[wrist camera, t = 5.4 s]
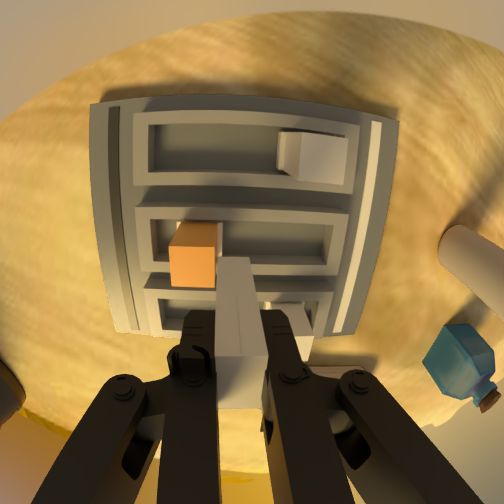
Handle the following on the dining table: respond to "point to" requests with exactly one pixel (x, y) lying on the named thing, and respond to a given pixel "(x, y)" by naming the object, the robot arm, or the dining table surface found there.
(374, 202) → the panel
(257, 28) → the dining table surface
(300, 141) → the block
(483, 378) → the perfume bottle
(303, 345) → the breaker far
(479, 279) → the beverage can
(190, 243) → the block
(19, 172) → the dining table surface
